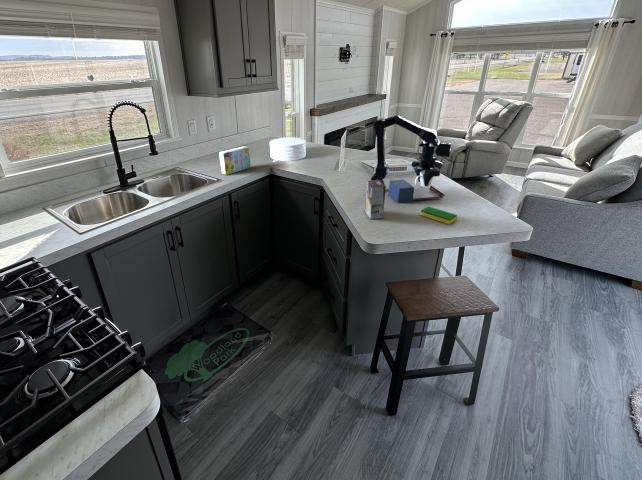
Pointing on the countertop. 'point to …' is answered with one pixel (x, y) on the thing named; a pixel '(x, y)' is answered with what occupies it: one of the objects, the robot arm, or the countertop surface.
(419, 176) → the cup
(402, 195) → the navy box
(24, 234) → the countertop surface
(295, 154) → the plate stack
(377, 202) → the coffee box
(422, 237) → the countertop surface
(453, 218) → the dish sponge
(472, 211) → the countertop surface
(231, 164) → the snack box
